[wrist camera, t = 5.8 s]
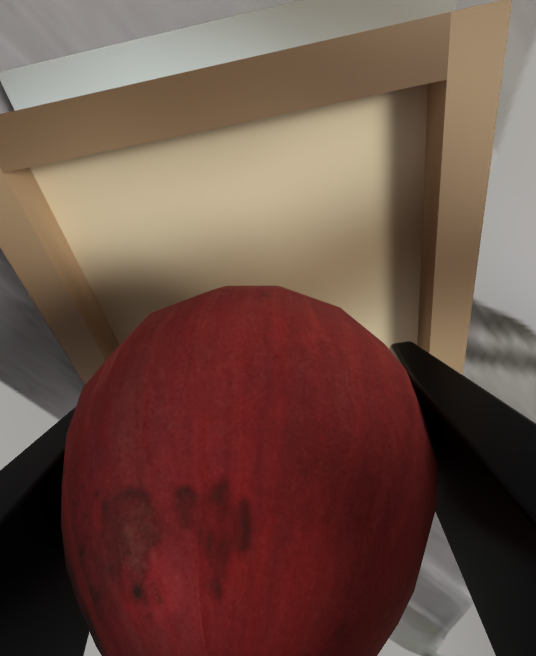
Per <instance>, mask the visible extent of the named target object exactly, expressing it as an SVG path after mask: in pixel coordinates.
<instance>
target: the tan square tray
mask: <svg viewBox="0 0 536 656" xmlns="http://www.w3.org/2000/svg"><path fill="white" fill-rule="evenodd" d="M511 5H512V0H500V1H496V2H491V3H487V4H483V5H478V6H474V7H469V8H465V9H461V10H456V0H298V1H294V2H290V3H286V4H282V5H278V6H273V7H269V8H265V9H261V10H257V11H252V12H248V13H244V14H240V15H236V16H232V17H227V18H223V19H219V20H215V21H211V22H206V23H202V24H198V25H194V26H190V27H186V28H181V29H177V30H173V31H169V32H165V33H160V34H156V35H152V36H148V37H144V38H140V39H135V40H131V41H127V42H123V43H119V44H114V45H110V46H106V47H102V48H98V49H94V50H89V51H85V52H81V53H77V54H73V55H68V56H64V57H60V58H56V59H52V60H48V61H43V62H39V63H35V64H31V65H27V66H22V67H18V68H14V69H10V70H6V71H2V72H0V81H1V83H2V85H3V87H4V90H5V92H6V94H7V96H8V98H9V100H10V102H11V104H12V106H13V108H14V110H15V111H12V112H7V113H3V114H0V248H1V250H2V251H3V253H4V254H5V256H6V258H7V259H8V261H9V263H10V264H11V266H12V267H13V269H14V271H15V272H16V274H17V276H18V277H19V279H20V280H21V282H22V284H23V285H24V287H25V289H26V290H27V292H28V293H29V295H30V297H31V298H32V300H33V302H34V303H35V305H36V306H37V308H38V310H39V311H40V313H41V315H42V316H43V318H44V319H45V321H46V323H47V324H48V326H49V327H50V329H51V331H52V332H53V334H54V336H55V337H56V339H57V340H58V342H59V344H60V345H61V347H62V349H63V350H64V352H65V353H66V355H67V357H68V358H69V360H70V362H71V363H72V365H73V366H74V368H75V370H76V371H77V373H78V375H79V376H80V378H81V379H82V381H83V383H84V384H86V383H87V382H88V381H89V380H90V378H91V377H92V376H93V375H94V374H95V372H96V371H97V370H98V369H99V368H100V366H101V365H102V364H103V363H104V362H105V360H106V359H107V358H108V357H109V356H110V354H111V353H112V352H113V351H114V350H115V349H116V348H117V347H118V346H119V345H120V344H121V343H122V342H123V341H124V340H125V339H126V338H127V337H128V336H129V335H130V334H131V333H132V331H133V330H134V329H135V328H136V327H137V326H138V325H139V324H140V323H141V322H142V321H143V320H144V319H145V318H146V317H147V316H148V315H149V314H150V313H152V312H155V311H157V310H160V309H163V308H165V307H168V306H171V305H173V304H176V303H179V302H181V301H184V300H187V299H189V298H192V297H195V296H197V295H200V294H203V293H205V292H208V291H211V290H214V289H217V288H221V287H224V286H281V287H284V288H287V289H290V290H292V291H295V292H298V293H301V294H304V295H306V296H309V297H312V298H315V299H318V300H321V301H323V302H326V303H329V304H332V305H335V306H338V307H340V308H341V309H343V310H344V311H345V312H346V313H347V314H349V315H350V316H351V317H352V318H354V319H355V320H356V321H357V322H359V323H360V324H361V325H362V326H363V327H365V328H366V329H367V330H368V331H370V332H371V333H372V334H373V335H375V336H376V337H377V338H378V339H379V340H381V341H382V342H383V343H384V344H385V345H386V346H387V347H388V348H389V350H390V346H391V345H392V344H393V343H399V342H406V341H411V342H413V343H415V344H416V345H418V346H419V347H421V348H422V349H424V350H425V351H427V352H428V353H430V354H431V355H433V356H435V357H436V358H438V359H439V360H441V361H442V362H444V363H445V364H447V365H448V366H450V367H451V368H453V369H454V370H456V371H457V372H459V373H460V374H462V375H463V369H464V361H465V354H466V346H467V339H468V331H469V324H470V316H471V308H472V301H473V293H474V285H475V278H476V270H477V263H478V255H479V248H480V240H481V232H482V225H483V217H484V210H485V202H486V195H487V187H488V180H489V172H490V164H491V157H492V149H493V142H494V134H495V127H496V119H497V111H498V104H499V96H500V89H501V81H502V73H503V66H504V58H505V51H506V43H507V36H508V28H509V20H510V13H511Z"/></svg>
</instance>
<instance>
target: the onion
mask: <svg viewBox="0 0 536 656" xmlns="http://www.w3.org/2000/svg"><path fill="white" fill-rule="evenodd" d="M436 492H437V461H436V458H435V454H434V450H433V446H432V442H431V438H430V434H429V430H428V427H427V424H426V421H425V418H424V415H423V412H422V410H421V407H420V405H419V402H418V399H417V397H416V394H415V392H414V389H413V386H412V384H411V381H410V379H409V376H408V374H407V371H406V369H405V368H404V367H403V366H402V364H401V363H400V362H399V361H398V359H397V358H396V357H395V356H394V355H393V353H392V352H391V351H390V350H389V348H388V347H387V346H386V345H385V344H384V343H383V342H382V341H381V340H379V339H378V338H377V337H376V336H375V335H373V334H372V333H371V332H370V331H368V330H367V329H366V328H365V327H363V326H362V325H361V324H360V323H359V322H357V321H356V320H355V319H354V318H352V317H351V316H350V315H349V314H347V313H346V312H345V311H344V310H343V309H341V308H340V307H338V306H335V305H332V304H329V303H326V302H323V301H321V300H318V299H315V298H312V297H309V296H306V295H304V294H301V293H298V292H295V291H292V290H290V289H287V288H284V287H281V286H224V287H221V288H217V289H214V290H211V291H208V292H205V293H203V294H200V295H197V296H195V297H192V298H189V299H187V300H184V301H181V302H179V303H176V304H173V305H171V306H168V307H165V308H163V309H160V310H157V311H155V312H152V313H150V314H149V315H148V316H147V317H146V318H145V319H144V320H143V321H142V322H141V323H140V324H139V325H138V326H137V327H136V328H135V329H134V330H133V331H132V333H131V334H130V335H129V336H128V337H127V338H126V339H125V340H124V341H123V342H122V343H121V344H120V345H119V346H118V347H117V348H116V349H115V350H114V351H113V352H112V353H111V354H110V356H109V357H108V358H107V359H106V360H105V362H104V363H103V364H102V365H101V366H100V368H99V369H98V370H97V371H96V372H95V374H94V375H93V376H92V377H91V378H90V380H89V381H88V382H87V383H86V384H85V386H84V387H83V389H82V392H81V395H80V397H79V400H78V403H77V406H76V409H75V411H74V414H73V417H72V420H71V423H70V426H69V428H68V431H67V435H66V445H65V455H64V466H63V476H62V498H61V531H62V539H63V546H64V554H65V562H66V569H67V572H68V575H69V578H70V581H71V584H72V588H73V591H74V594H75V597H76V600H77V603H78V606H79V609H80V611H81V613H82V616H83V618H84V620H85V622H86V625H87V627H88V629H89V631H90V633H91V636H92V638H93V640H94V642H95V645H96V647H97V649H98V650H99V652H100V653H101V655H102V656H377V655H378V653H379V652H380V650H381V649H382V647H383V646H384V644H385V643H386V641H387V640H388V638H389V637H390V635H391V634H392V632H393V631H394V629H395V628H396V626H397V625H398V623H399V621H400V619H401V617H402V615H403V613H404V610H405V608H406V606H407V604H408V602H409V600H410V598H411V596H412V594H413V592H414V589H415V585H416V582H417V578H418V574H419V570H420V567H421V563H422V559H423V555H424V552H425V548H426V544H427V540H428V536H429V533H430V529H431V525H432V521H433V517H434V514H435V510H436Z"/></svg>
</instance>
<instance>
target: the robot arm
mask: <svg viewBox="0 0 536 656" xmlns="http://www.w3.org/2000/svg"><path fill="white" fill-rule="evenodd" d="M390 351H391V352H392V353H393V355H394V356H395V357H396V358H397V359H398V361H399V362H400V363H401V364H402V366H403V367H404V368H405V369H406V371H407V374H408V376H409V379H410V381H411V384H412V386H413V389H414V392H415V394H416V397H417V399H418V402H419V405H420V407H421V410H422V412H423V415H424V418H425V421H426V424H427V427H428V430H429V434H430V438H431V442H432V446H433V450H434V454H435V458H436V461H437V492H436V510H435V511H436V514H437V516H438V519H439V521H440V523H441V526H442V528H443V530H444V533H445V535H446V538H447V540H448V542H449V545H450V547H451V550H452V552H453V554H454V557H455V559H456V561H457V564H458V566H459V569H460V571H461V573H462V576H463V578H464V581H465V583H466V585H467V588H468V590H469V593H470V595H471V597H472V600H473V602H474V604H475V607H476V609H477V612H478V614H479V616H480V619H481V621H482V624H483V626H484V628H485V631H486V633H487V635H488V638H489V640H490V643H491V645H492V647H493V649H494V652H495V655H496V656H536V423H534V422H533V421H531V420H530V419H528V418H527V417H525V416H524V415H522V414H521V413H519V412H518V411H516V410H515V409H513V408H512V407H510V406H509V405H507V404H505V403H504V402H502V401H501V400H499V399H498V398H496V397H495V396H493V395H492V394H490V393H489V392H487V391H486V390H484V389H483V388H481V387H480V386H478V385H477V384H475V383H474V382H472V381H471V380H469V379H468V378H466V377H465V376H463V375H462V374H460V373H459V372H457V371H456V370H454V369H453V368H451V367H450V366H448V365H447V364H445V363H444V362H442V361H441V360H439V359H438V358H436V357H435V356H433V355H431V354H430V353H428V352H427V351H425V350H424V349H422V348H421V347H419V346H418V345H416V344H415V343H413V342H411V341H406V342H399V343H393V344H392V345H391V346H390ZM75 409H76V407H75V408H74V409H73V410H71V411H70V412H69V413H68V414H67V415H66V416H64V417H63V418H62V419H61V420H60V421H58V422H57V423H56V424H55V425H54V426H53V427H51V428H50V429H49V430H48V431H47V432H45V433H44V434H43V435H42V436H41V437H40V438H38V439H37V440H36V441H35V442H34V443H32V444H31V445H30V446H29V447H28V448H26V449H25V450H24V451H23V452H22V453H21V454H20V455H18V456H17V457H16V458H15V459H13V460H12V461H11V462H10V463H9V464H8V465H6V466H5V467H4V468H3V469H2V470H0V656H83V655H84V651H85V646H86V643H87V638H88V635H89V629H88V627H87V625H86V622H85V620H84V618H83V616H82V613H81V611H80V609H79V606H78V603H77V600H76V597H75V594H74V591H73V588H72V584H71V581H70V578H69V575H68V572H67V569H66V562H65V554H64V546H63V539H62V531H61V498H62V476H63V466H64V455H65V445H66V435H67V431H68V428H69V426H70V423H71V420H72V417H73V414H74V411H75Z"/></svg>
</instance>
